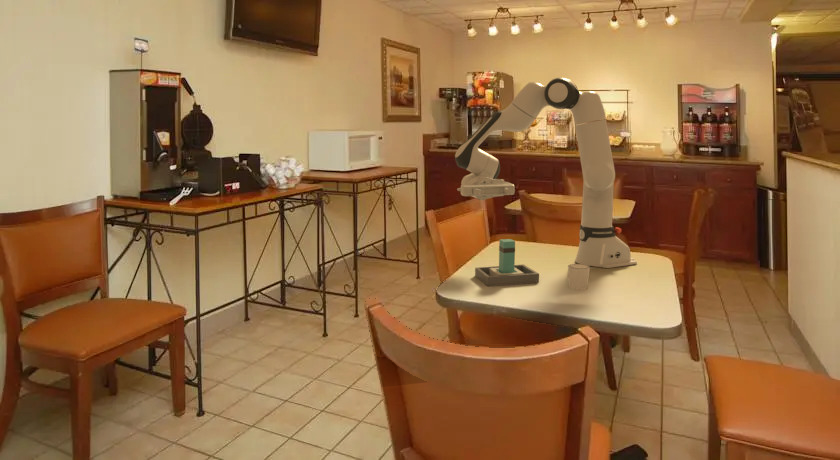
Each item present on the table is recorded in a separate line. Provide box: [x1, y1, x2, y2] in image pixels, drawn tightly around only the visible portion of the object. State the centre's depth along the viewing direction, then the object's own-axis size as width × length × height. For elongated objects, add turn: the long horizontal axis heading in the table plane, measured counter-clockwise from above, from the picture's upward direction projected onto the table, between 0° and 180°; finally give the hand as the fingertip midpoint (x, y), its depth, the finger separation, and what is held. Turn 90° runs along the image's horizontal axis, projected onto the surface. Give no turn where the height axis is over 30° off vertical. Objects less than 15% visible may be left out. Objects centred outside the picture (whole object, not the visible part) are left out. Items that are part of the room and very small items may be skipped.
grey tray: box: [474, 264, 540, 287], centre depth 191 cm, size 18×13×3 cm
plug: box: [498, 238, 516, 273], centre depth 190 cm, size 4×4×13 cm
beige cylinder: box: [567, 263, 591, 290], centre depth 181 cm, size 7×7×7 cm
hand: (494, 192), depth 202 cm, fingers open, 8 cm apart
